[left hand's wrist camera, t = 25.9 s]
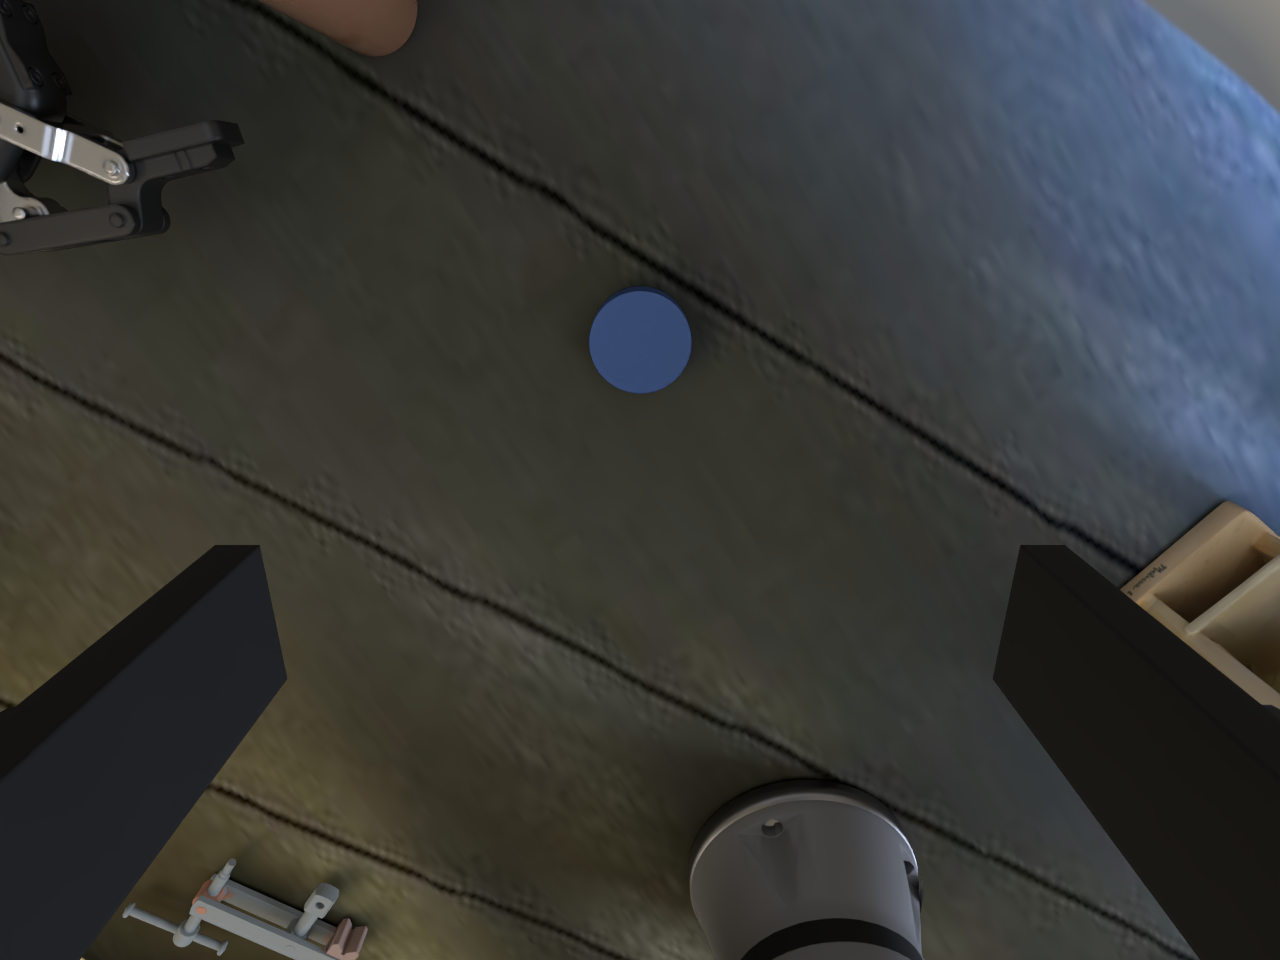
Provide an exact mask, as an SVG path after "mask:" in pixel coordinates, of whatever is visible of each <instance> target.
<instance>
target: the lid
mask: <svg viewBox="0 0 1280 960" xmlns="http://www.w3.org/2000/svg"><path fill="white" fill-rule="evenodd" d="M691 346H692V338H691V331H690V327H689V324H688V322H687V319H686V317H685V314H684V312H683V311H682V309H681V307H680V306H679V305H678V303H677V302H676V301H675V300H674V299H673V298H672V297H670V296H669V295H668V294H666V293H664V292H663V291H660V290H658V289H655V288H652V287H646V286H635V287H629V288H626V289H623V290H620V291H618V292H616V293H615V294H613V295H612V296H610V297H609V298H608V299H607V300H606V301H605V302H604V303H603V304H602V306H601V307H600V308H599V310H598V312H597V314H596V316H595V319H594V321H593V324H592V327H591V331H590V337H589V348H590V354H591V357H592V360H593V363H594V365H595V367H596V368H597V370H598V372H599V373H600V374H601V375H602V377H603V378H604V379H605V380H607V381H608V382H609V383H610V384H612V385H613V386H615V387H617V388H619V389H621V390H624V391H627V392H631V393H650V392H654V391H657V390H660V389H662V388H664V387H666V386H668V385H669V384H670V383H672V382H673V381H674V380H675V379H676V378H677V377H678V376H679V375H680V374H681V373H682V371H683V370H684V368H685V366H686V364H687V362H688V360H689V356H690V353H691Z"/></svg>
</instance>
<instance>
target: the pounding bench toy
mask: <svg viewBox="0 0 1280 960" xmlns="http://www.w3.org/2000/svg"><path fill="white" fill-rule="evenodd" d="M1120 590H1121V591H1122V592H1123V593H1124V594H1126V595H1127V596H1128V597H1129V598H1131V599H1132V600H1133V601H1134V602H1136V603H1137V604H1138V605H1139V606H1140V607H1142V608H1143V609H1144V610H1145V611H1147V612H1148V613H1149V614H1150V615H1152V616H1153V617H1154V618H1155V619H1157V620H1158V621H1159V622H1160V623H1161V624H1163V625H1164V626H1165V627H1166V628H1168V629H1169V630H1170V631H1171V632H1173V633H1174V634H1175V635H1176V636H1178V637H1179V638H1180V639H1181V640H1182V641H1184V642H1185V643H1186V644H1187V645H1189V646H1190V647H1191V648H1192V649H1194V650H1195V651H1196V652H1197V653H1199V654H1200V655H1201V656H1202V657H1203V658H1205V659H1206V660H1207V661H1208V662H1210V663H1211V664H1212V665H1213V666H1215V667H1216V668H1217V669H1218V670H1219V671H1221V672H1222V673H1223V674H1224V675H1226V676H1227V677H1228V678H1229V679H1231V680H1232V681H1233V682H1234V683H1236V684H1237V685H1238V686H1239V687H1240V688H1242V689H1243V690H1244V691H1245V692H1247V693H1248V694H1249V695H1250V696H1252V697H1253V698H1254V699H1255V700H1257V701H1258V702H1259V703H1260V704H1261V705H1273V706H1275V707H1277V708H1278V709H1280V537H1279V536H1278V535H1276V534H1275V533H1274V532H1273V531H1272V530H1271V529H1270V528H1269V527H1268V526H1267V525H1266V524H1264V523H1263V522H1262V521H1261V520H1260V519H1259V518H1258V517H1256V516H1255V515H1254V514H1253V513H1251V512H1250V511H1249V510H1247V509H1245V508H1243V507H1241V506H1239V505H1237V504H1235V503H1233V502H1231V501H1225V502H1223V503H1222V504H1221V505H1219V506H1218V507H1217V508H1216V509H1214V510H1213V511H1212V512H1211V513H1210V514H1209V515H1207V516H1206V517H1205V518H1204V519H1203V520H1202V521H1200V522H1199V523H1198V524H1197V525H1196V526H1194V527H1193V528H1192V529H1191V530H1190V531H1189V532H1187V533H1186V534H1185V535H1184V536H1183V537H1181V538H1180V539H1179V540H1178V541H1177V542H1176V543H1174V544H1173V545H1172V546H1171V547H1170V548H1169V549H1167V550H1166V551H1165V552H1164V553H1163V554H1161V555H1160V556H1159V557H1158V558H1157V559H1156V560H1154V561H1153V562H1152V563H1151V564H1150V565H1148V566H1147V567H1146V568H1145V569H1144V570H1142V571H1141V572H1140V573H1139V574H1138V575H1137V576H1135V577H1134V578H1133V579H1132V580H1131V581H1129V582H1128V583H1127V584H1126V585H1125V586H1124V587H1122V588H1121V589H1120Z"/></svg>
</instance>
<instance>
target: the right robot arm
mask: <svg viewBox="0 0 1280 960" xmlns="http://www.w3.org/2000/svg"><path fill="white" fill-rule="evenodd" d="M68 95H72V92H71V90H70V88H69V85H68V83H67V81H66V79H65V76H64V74H63V72H62V71H61V69H60V68H59V66H58V65H57V64H56V62H55V61H54V59H53V58H52V57H51V55H50V54H49V52H48V49H47V44H46V39H45V34H44V30H43V26H42V24H41V22H40V19H39V17H38V15H37V13H36V10H35V8H34V6H33V5H32V4H29V3H26V2H24V1H23V0H0V254H3V255H16V254H27V253H38V252H49V251H58V250H64V249H70V248H76V247H82V246H88V245H94V244H100V243H106V242H113V241H119V240H125V239H131V238H137V237H143V236H149V235H155V234H161V233H164V232H166V231H167V230H168V229H169V227H170V218H169V215H168V213H167V211H166V210H165V209H164V208H163V207H162V205H161V190H162V188H163V186H164V185H165V184H166V183H167V182H168V181H170V180H174V179H178V178H182V177H186V176H190V175H194V174H199V173H202V172H207V171H211V170H215V169H219V168H223V167H226V166H227V165H229V164H230V163H231V162H232V161H233V160H234V159H235V157H234V155H233V152H232V149H231V147H234V146H238V145H242V144H244V140H243V138H242V135H241V132H240V130H239V127H238V124H236V123H230V122H225V121H219V120H212V121H204V122H200V123H196V124H191V125H187V126H183V127H179V128H175V129H171V130H167V131H163V132H159V133H155V134H151V135H147V136H143V137H139V138H135V139H131V140H127V141H121V140H119V139H117V138H115V137H113V134H111V133H110V132H108V131H106V130H103V129H101V128H99V127H97V126H95V125H93V124H90V123H88V122H86V121H84V120H82V119H80V118H78V117H75V116H73V115H71V114H69V113H67V112H66V110H67V99H66V96H68ZM42 157H44V158H47V159H50V160H53V161H57V162H61V163H65V164H67V165H70V166H72V167H74V168H76V169H78V170H81V171H83V172H85V173H87V174H90V175H92V176H94V177H96V178H98V179H101V180H103V181H105V182H107V191H108V200H109V205H103V206H97V207H91V208H85V209H79V210H73V211H67V210H66V209H65V208H64V207H61V206H60V205H59V204H58V203H57V202H56V201H55V200H53V199H51V198H41V197H37V196H35V195H33V194H32V193H30V192H29V191H28V190H27V189H26V187H25V185H24V183H25V182H27V181H28V180H29V179H30V178H31V177H32V175H33V174H34V172H35V170H36V168H37V166H38V165H39V163H40V161H41V159H42Z"/></svg>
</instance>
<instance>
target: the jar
mask: <svg viewBox="0 0 1280 960" xmlns="http://www.w3.org/2000/svg"><path fill="white" fill-rule="evenodd" d="M258 1H260V2H261V3H263V4H265V5H267V6H269V7H271V8H273V9H275V10H277V11H279V12H281V13H282V14H284V15H286V16H288V17H290V18H292V19H294V20H296V21H298V22H300V23H301V24H303V25H305V26H307V27H309V28H311V29H313V30H315V31H317V32H319V33H321V34H322V35H324V36H326V37H328V38H330V39H332V40H334V41H336V42H338V43H340V44H342V45H343V46H345V47H347V48H349V49H351V50H353V51H355V52H357V53H360V54H363V55H366V56H383V55H387V54H390V53H392V52H394V51H396V50H397V49H399V48H400V47H401V46H402V45H403V44H404V43H405V42H406V41H407V40H408V38H409V37H410V35H411V33H412V31H413V29H414V26H415V22H416V18H417V0H258Z"/></svg>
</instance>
